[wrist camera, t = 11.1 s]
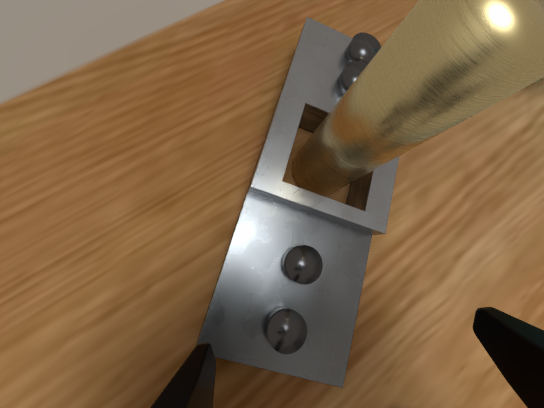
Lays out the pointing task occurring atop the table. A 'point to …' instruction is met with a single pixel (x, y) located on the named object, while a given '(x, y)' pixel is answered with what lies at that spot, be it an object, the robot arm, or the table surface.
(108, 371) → the table surface
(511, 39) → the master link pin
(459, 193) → the table surface
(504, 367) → the robot arm
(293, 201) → the bolted metal plate
